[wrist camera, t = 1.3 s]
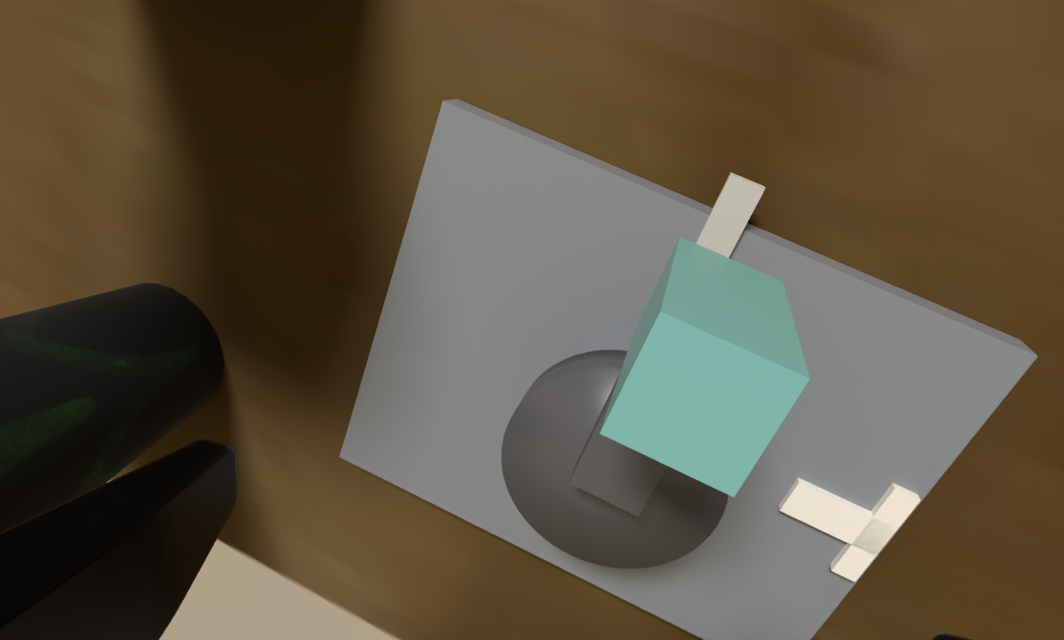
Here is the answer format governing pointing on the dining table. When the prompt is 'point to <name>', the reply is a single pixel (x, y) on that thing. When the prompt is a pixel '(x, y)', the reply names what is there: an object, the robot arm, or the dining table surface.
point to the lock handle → (658, 417)
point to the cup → (95, 390)
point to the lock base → (608, 324)
